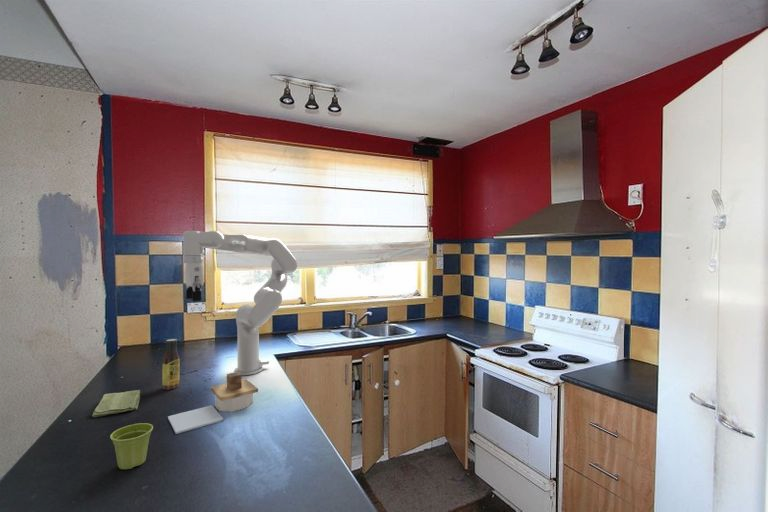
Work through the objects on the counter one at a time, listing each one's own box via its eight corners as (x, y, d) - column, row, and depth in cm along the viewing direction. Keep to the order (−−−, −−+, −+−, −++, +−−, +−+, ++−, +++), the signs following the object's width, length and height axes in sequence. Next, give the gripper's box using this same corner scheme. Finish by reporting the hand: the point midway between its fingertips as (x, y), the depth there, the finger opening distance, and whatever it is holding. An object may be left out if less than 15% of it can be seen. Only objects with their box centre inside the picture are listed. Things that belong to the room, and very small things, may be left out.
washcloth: (90, 420, 122) (90, 411, 122) (102, 401, 138) (102, 393, 138) (137, 412, 128) (137, 403, 128) (143, 395, 144) (143, 386, 144)
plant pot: (124, 454, 101) (124, 423, 101) (160, 452, 102) (159, 422, 102) (101, 474, 92) (101, 440, 92) (140, 473, 92) (140, 439, 92)
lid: (245, 382, 143) (245, 366, 143) (258, 391, 133) (258, 375, 133) (210, 390, 135) (210, 373, 135) (220, 401, 125) (220, 383, 125)
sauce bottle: (171, 391, 147) (171, 342, 146) (158, 389, 148) (158, 341, 148) (183, 385, 153) (183, 338, 153) (170, 384, 154) (170, 337, 154)
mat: (211, 406, 132) (211, 405, 132) (223, 420, 121) (223, 418, 121) (167, 418, 123) (167, 416, 123) (175, 434, 112) (175, 432, 112)
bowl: (245, 395, 142) (245, 382, 142) (256, 405, 133) (256, 391, 133) (212, 403, 135) (212, 390, 135) (222, 414, 126) (221, 400, 125)
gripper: (209, 260, 150) (209, 301, 150) (197, 259, 163) (197, 297, 163) (189, 260, 145) (189, 302, 145) (178, 259, 158) (178, 298, 158)
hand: (193, 299), depth 154 cm, fingers open, 9 cm apart
